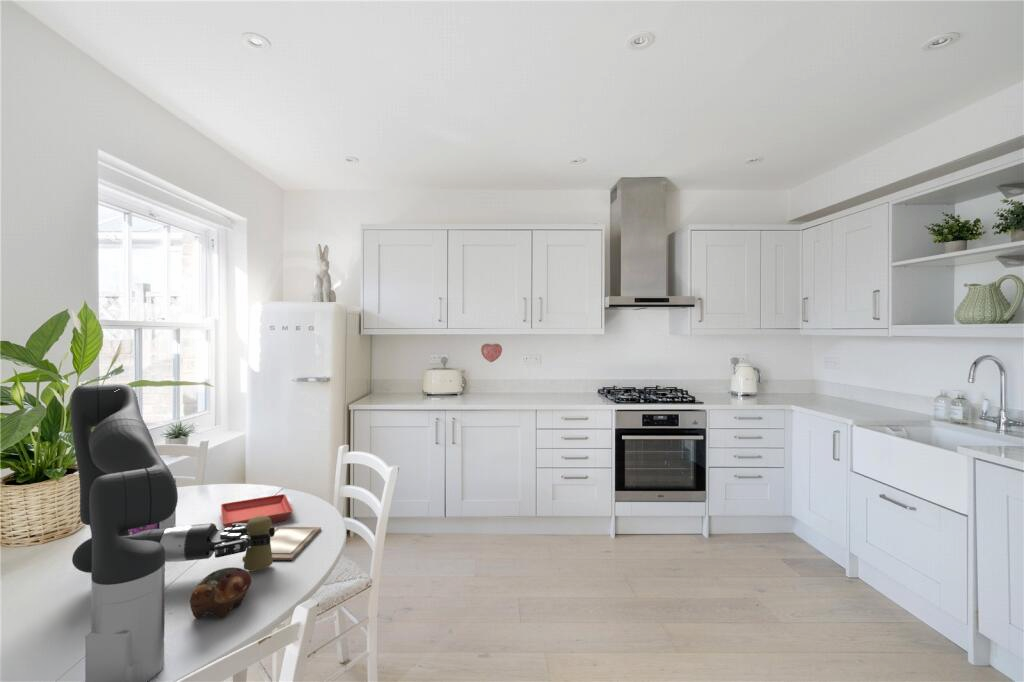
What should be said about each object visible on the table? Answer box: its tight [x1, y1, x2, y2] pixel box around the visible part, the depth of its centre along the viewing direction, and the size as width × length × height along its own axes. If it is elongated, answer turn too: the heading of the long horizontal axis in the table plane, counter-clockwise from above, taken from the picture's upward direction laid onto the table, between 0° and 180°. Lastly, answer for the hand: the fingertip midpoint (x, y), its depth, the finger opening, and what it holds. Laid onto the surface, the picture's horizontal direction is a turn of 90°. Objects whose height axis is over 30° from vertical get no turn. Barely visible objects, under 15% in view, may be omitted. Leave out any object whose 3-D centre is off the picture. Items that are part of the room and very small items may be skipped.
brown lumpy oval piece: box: [189, 566, 252, 620], centre depth 93 cm, size 10×15×8 cm, turn 1°
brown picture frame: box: [242, 526, 322, 561], centre depth 122 cm, size 18×12×1 cm, turn 1°
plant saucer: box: [220, 493, 294, 528], centre depth 140 cm, size 18×18×3 cm
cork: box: [243, 516, 274, 572], centre depth 109 cm, size 6×6×11 cm
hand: (271, 535), depth 110 cm, fingers closed on cork, 4 cm apart
